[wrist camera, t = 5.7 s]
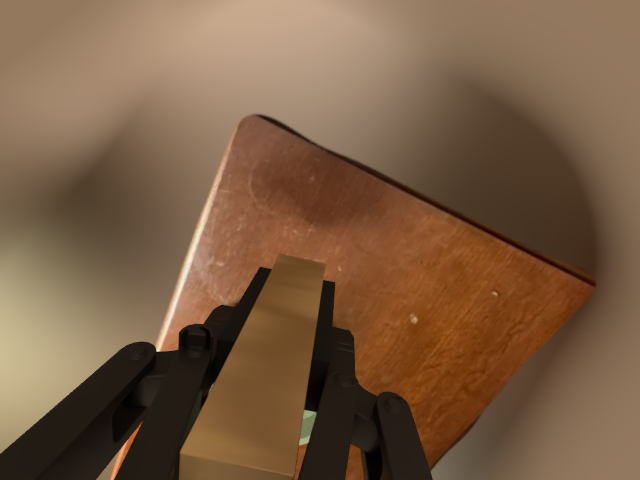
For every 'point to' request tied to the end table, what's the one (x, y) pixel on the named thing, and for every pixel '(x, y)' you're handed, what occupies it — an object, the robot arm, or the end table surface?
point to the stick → (261, 384)
